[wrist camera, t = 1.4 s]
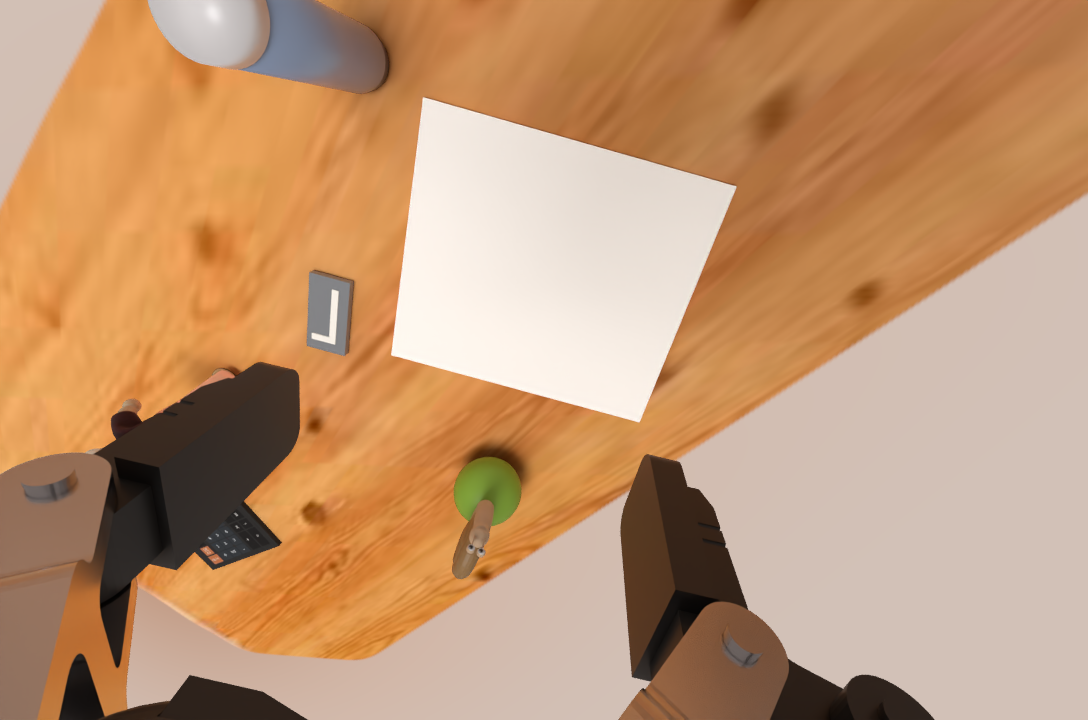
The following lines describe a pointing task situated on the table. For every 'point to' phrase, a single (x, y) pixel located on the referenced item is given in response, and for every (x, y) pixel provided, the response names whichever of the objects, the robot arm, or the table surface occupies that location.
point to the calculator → (237, 539)
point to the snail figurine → (482, 506)
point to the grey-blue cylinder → (276, 40)
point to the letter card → (329, 312)
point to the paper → (548, 260)
